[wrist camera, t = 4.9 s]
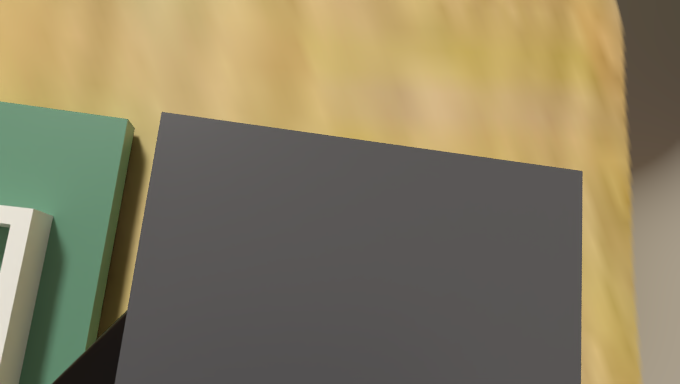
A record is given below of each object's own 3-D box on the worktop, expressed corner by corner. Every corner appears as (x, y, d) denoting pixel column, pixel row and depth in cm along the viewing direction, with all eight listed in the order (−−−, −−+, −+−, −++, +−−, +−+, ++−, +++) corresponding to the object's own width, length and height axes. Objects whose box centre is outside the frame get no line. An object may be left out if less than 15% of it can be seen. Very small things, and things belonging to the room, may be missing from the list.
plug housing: (331, 433, 15) (576, 895, 4) (207, 424, 15) (21, 921, 3) (348, 258, 16) (581, 170, 5) (232, 245, 16) (160, 111, 4)
